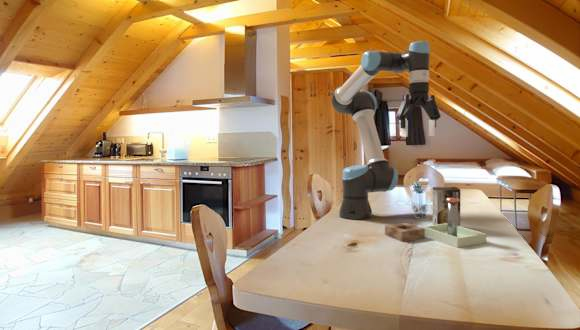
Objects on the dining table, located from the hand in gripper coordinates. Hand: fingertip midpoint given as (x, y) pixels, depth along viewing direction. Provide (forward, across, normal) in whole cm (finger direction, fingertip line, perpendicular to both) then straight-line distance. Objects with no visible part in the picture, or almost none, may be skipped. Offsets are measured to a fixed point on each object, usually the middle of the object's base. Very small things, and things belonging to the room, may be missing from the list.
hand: (418, 136), depth 145 cm
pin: (+36, 0, -18) cm, 41 cm away
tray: (+37, 0, -18) cm, 41 cm away
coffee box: (+37, +9, -6) cm, 38 cm away
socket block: (+37, -14, -9) cm, 40 cm away
